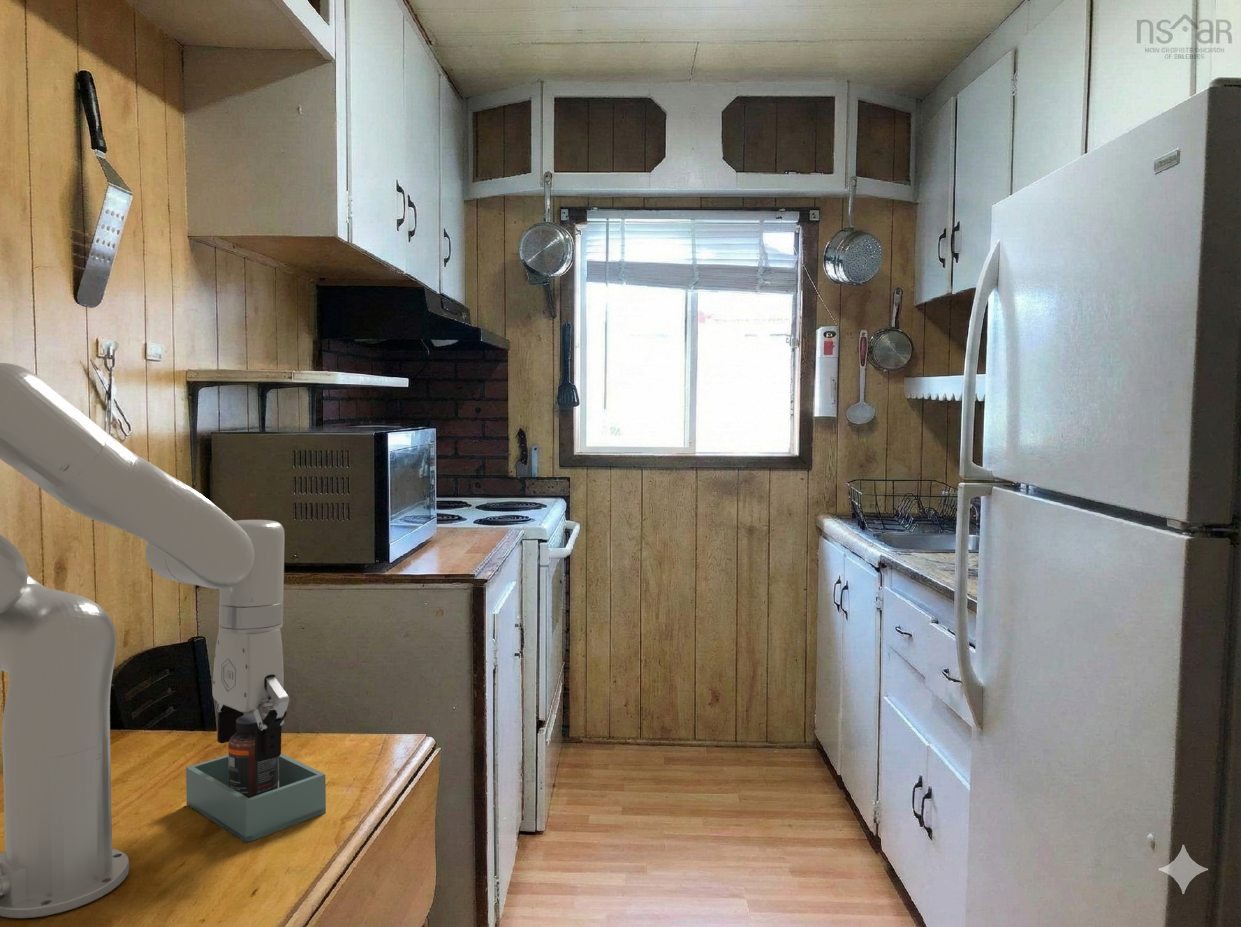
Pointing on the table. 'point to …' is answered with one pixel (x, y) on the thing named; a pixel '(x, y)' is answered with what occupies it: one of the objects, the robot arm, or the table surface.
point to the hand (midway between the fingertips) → (248, 749)
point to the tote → (256, 798)
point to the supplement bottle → (249, 761)
